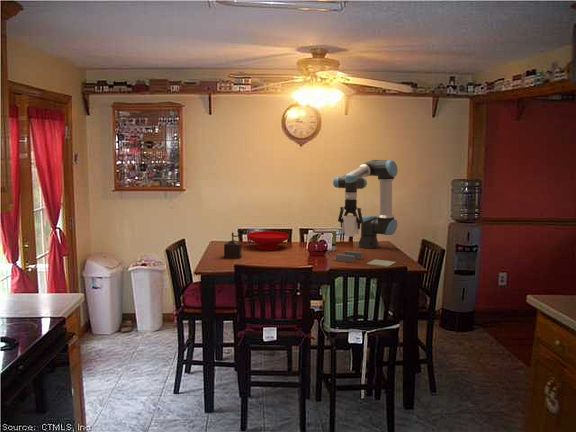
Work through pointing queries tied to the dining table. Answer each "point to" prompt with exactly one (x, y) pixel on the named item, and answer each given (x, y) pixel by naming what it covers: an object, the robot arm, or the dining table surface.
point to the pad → (381, 263)
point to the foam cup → (350, 225)
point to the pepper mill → (233, 247)
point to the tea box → (328, 232)
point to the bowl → (268, 239)
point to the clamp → (348, 256)
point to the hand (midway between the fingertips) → (350, 233)
